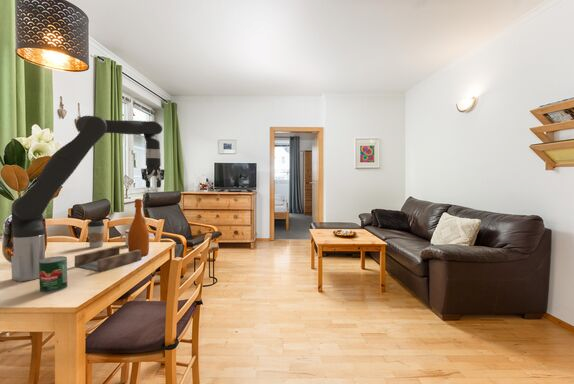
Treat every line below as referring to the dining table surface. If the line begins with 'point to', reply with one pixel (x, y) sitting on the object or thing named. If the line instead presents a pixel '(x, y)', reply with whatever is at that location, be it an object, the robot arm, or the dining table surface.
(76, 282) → the dining table surface
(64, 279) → the canned tomato
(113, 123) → the robot arm
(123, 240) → the teacup with lid
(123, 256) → the u rest
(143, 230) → the wine bottle
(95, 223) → the coffee cup
